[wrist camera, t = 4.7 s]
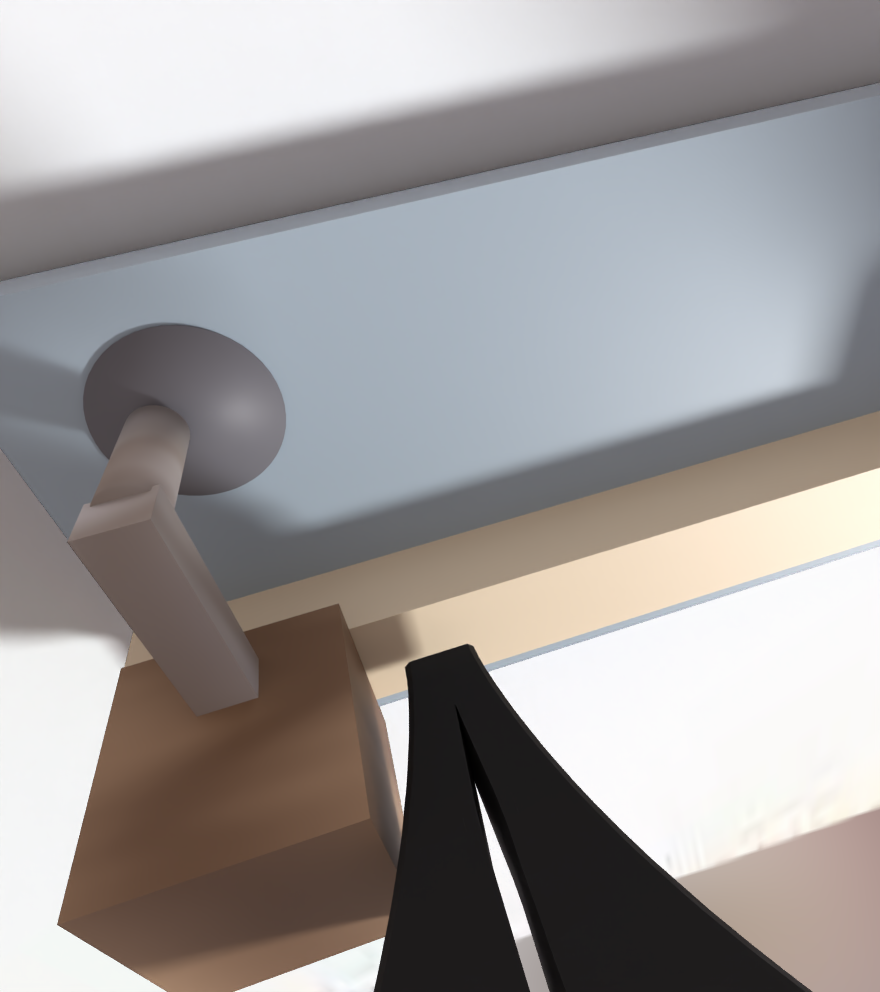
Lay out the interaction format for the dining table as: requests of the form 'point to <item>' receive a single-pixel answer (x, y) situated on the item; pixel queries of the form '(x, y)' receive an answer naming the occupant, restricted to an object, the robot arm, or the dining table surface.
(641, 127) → the dining table surface
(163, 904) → the slider
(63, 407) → the gauge board
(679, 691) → the dining table surface
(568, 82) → the dining table surface
